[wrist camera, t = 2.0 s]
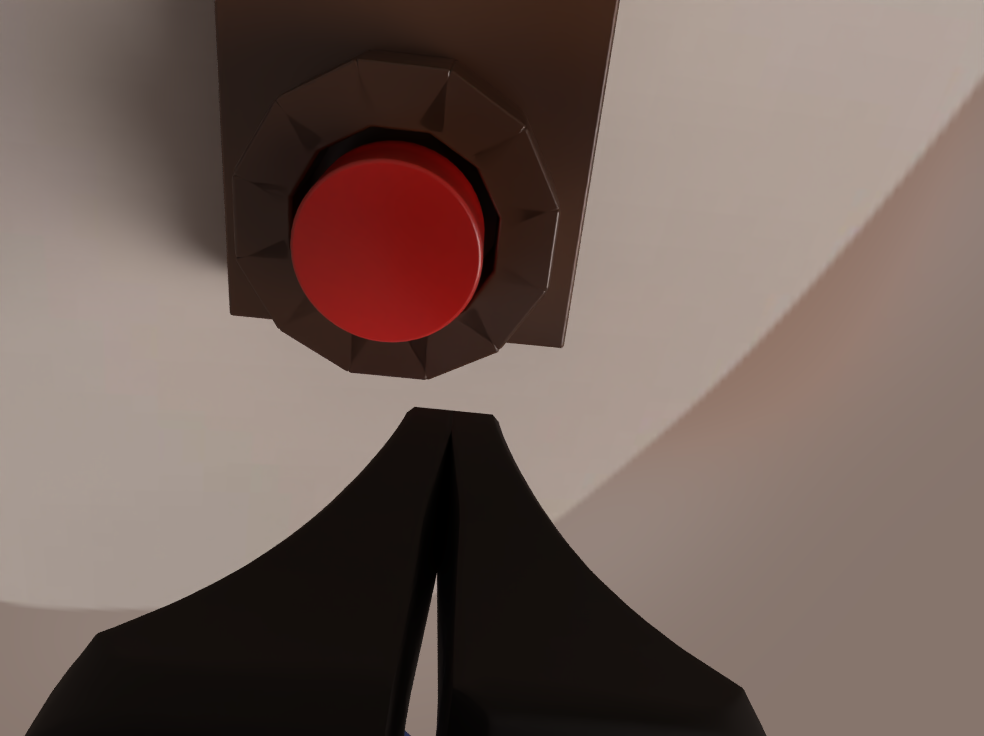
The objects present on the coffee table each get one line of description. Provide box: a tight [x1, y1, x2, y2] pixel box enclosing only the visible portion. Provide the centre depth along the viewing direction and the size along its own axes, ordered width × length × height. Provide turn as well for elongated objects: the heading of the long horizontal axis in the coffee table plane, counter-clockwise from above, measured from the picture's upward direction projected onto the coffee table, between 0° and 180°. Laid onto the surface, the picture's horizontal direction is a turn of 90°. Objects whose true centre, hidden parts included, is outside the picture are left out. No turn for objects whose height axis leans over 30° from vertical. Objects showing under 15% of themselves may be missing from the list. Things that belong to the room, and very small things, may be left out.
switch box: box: [214, 0, 620, 380], centre depth 17 cm, size 10×8×4 cm
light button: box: [290, 140, 485, 342], centre depth 15 cm, size 4×4×2 cm
